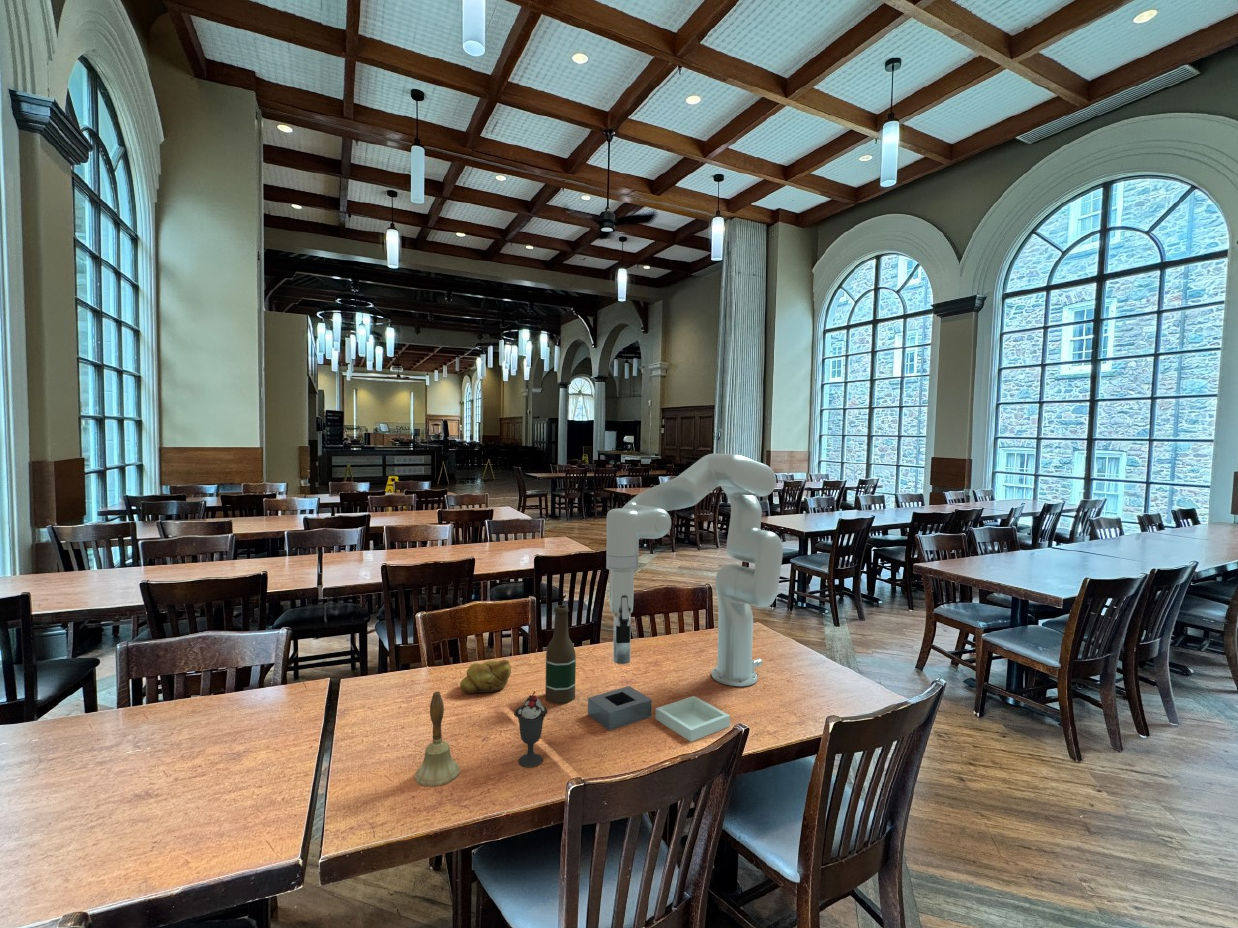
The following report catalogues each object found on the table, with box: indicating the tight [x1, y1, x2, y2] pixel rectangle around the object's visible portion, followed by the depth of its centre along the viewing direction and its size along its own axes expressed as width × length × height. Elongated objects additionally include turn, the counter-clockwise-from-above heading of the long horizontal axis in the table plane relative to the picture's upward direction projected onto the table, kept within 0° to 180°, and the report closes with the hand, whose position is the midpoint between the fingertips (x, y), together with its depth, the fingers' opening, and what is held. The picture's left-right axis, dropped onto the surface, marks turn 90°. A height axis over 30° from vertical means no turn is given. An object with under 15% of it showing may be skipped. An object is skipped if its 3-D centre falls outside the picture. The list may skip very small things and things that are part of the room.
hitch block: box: [587, 685, 653, 732], centre depth 130 cm, size 12×9×5 cm
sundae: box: [513, 690, 549, 768], centre depth 112 cm, size 7×7×15 cm
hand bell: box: [414, 691, 461, 787], centre depth 107 cm, size 8×8×16 cm
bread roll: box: [459, 659, 512, 694], centre depth 146 cm, size 13×10×8 cm
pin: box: [612, 610, 632, 665], centre depth 130 cm, size 4×4×12 cm
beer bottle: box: [545, 604, 577, 705], centre depth 139 cm, size 8×8×24 cm
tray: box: [655, 695, 731, 743], centre depth 127 cm, size 12×12×4 cm
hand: (622, 638), depth 130 cm, fingers closed on pin, 4 cm apart
